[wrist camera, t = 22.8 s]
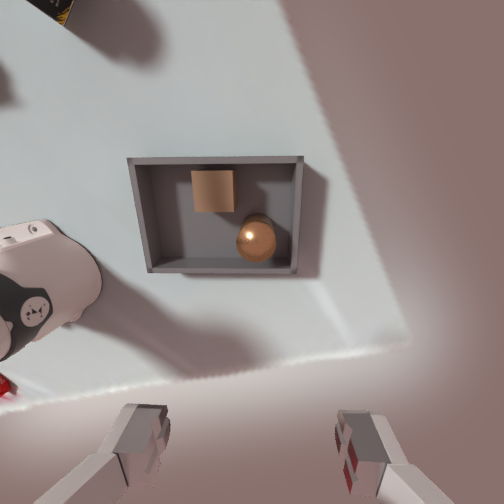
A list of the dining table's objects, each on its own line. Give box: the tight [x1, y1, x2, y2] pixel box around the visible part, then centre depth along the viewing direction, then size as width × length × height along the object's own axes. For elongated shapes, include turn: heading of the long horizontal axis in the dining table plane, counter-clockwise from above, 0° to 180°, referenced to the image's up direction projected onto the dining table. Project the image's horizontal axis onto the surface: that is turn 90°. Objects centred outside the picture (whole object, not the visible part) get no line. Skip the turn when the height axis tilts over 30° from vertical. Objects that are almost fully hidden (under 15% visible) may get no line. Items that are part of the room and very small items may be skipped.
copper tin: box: [236, 213, 276, 262], centre depth 32 cm, size 5×5×7 cm
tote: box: [127, 156, 304, 274], centre depth 33 cm, size 22×16×5 cm
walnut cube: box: [191, 170, 237, 212], centre depth 31 cm, size 5×5×5 cm
